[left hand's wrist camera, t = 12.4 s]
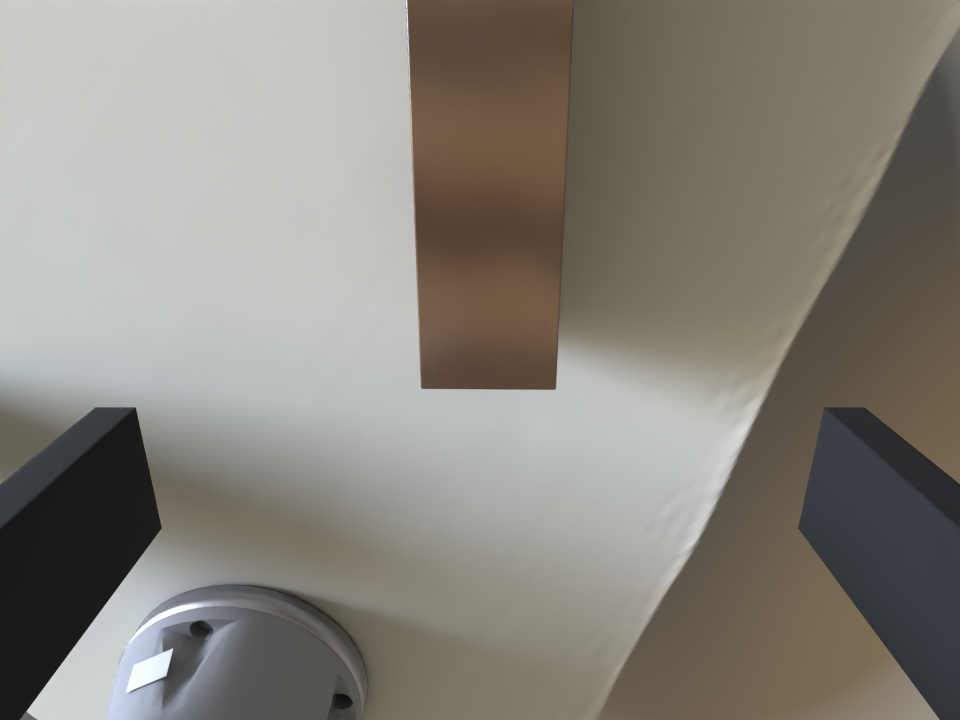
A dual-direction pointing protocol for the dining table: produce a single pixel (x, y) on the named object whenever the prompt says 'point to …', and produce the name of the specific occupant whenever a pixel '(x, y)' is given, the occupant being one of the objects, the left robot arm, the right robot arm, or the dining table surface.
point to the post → (489, 187)
